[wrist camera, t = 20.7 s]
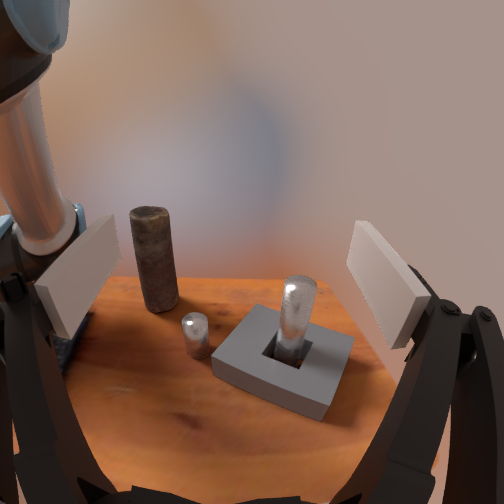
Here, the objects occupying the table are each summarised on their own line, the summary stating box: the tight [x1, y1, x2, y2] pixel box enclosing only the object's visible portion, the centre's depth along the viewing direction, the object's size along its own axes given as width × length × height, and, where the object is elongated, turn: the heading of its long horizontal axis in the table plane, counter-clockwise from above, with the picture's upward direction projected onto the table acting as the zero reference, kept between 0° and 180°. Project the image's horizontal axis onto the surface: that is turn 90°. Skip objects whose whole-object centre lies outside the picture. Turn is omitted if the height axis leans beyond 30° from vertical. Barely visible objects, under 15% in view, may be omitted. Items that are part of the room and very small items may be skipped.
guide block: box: [211, 304, 355, 422], centre depth 40 cm, size 18×14×5 cm
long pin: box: [273, 275, 317, 369], centre depth 37 cm, size 4×4×17 cm
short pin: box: [182, 312, 210, 359], centre depth 42 cm, size 4×4×7 cm
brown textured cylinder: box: [129, 206, 179, 313], centre depth 49 cm, size 8×7×20 cm
